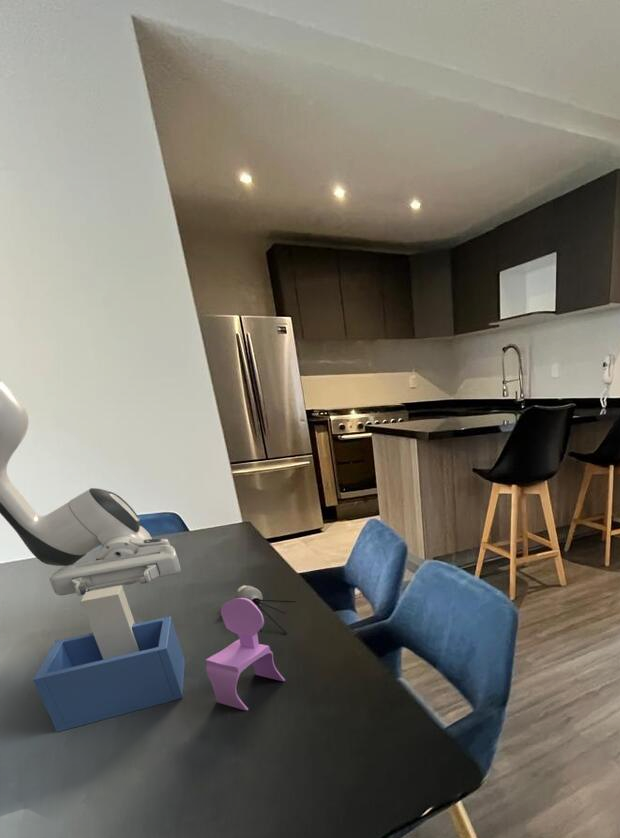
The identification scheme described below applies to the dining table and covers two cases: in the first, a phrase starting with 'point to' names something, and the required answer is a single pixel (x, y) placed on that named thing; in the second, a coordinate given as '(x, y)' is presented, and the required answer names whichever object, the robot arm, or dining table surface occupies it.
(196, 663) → the dining table surface
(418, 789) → the dining table surface
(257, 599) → the reed diffuser
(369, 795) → the dining table surface
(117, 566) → the robot arm
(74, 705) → the box
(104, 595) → the cream rectangular block
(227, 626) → the toy chair
